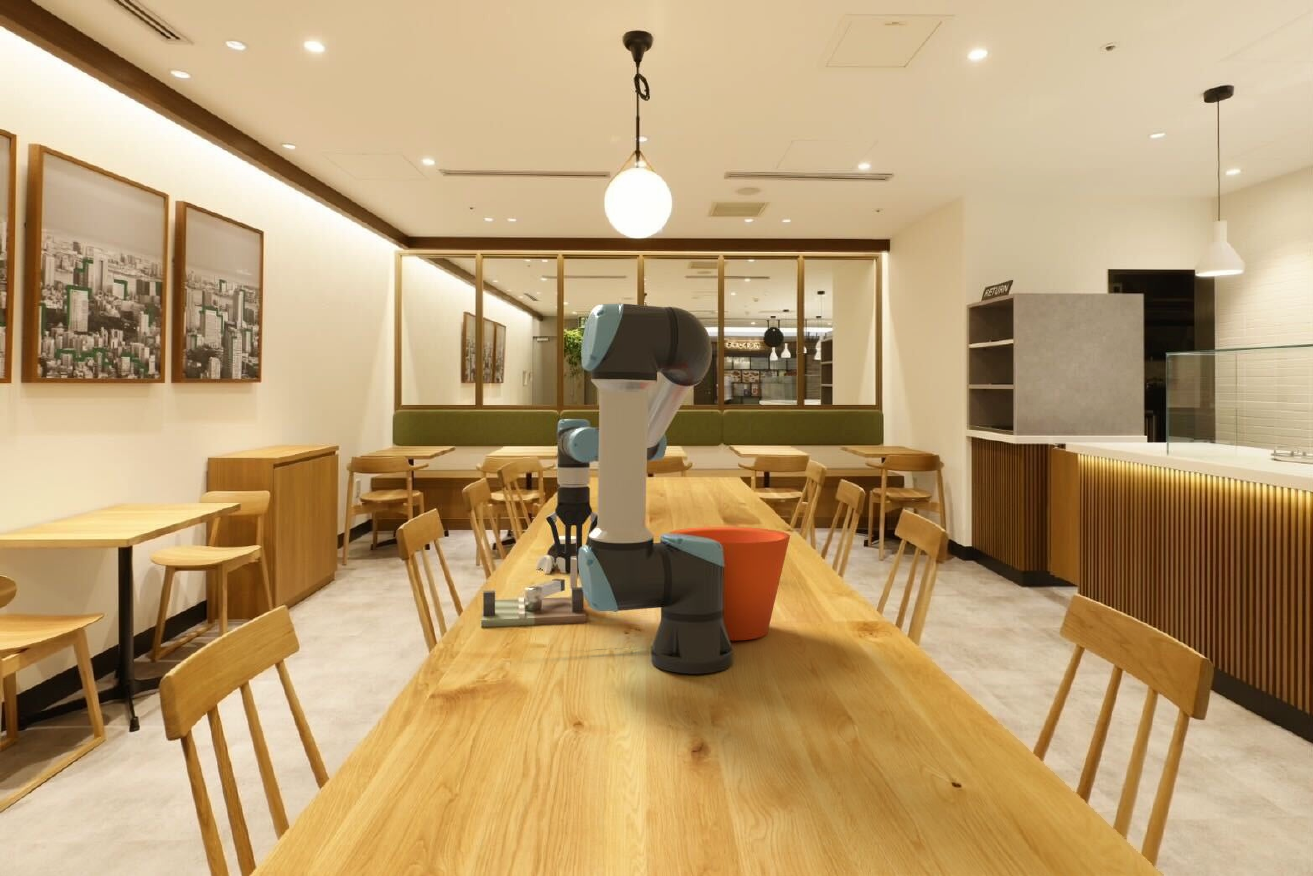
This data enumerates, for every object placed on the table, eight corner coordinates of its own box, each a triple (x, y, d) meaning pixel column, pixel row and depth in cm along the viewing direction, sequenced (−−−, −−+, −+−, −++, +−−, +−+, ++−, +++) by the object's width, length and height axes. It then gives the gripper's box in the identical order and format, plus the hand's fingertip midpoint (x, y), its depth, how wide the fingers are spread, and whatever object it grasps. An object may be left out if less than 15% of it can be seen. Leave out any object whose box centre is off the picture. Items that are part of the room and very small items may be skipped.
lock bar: (535, 611, 162) (535, 590, 162) (522, 609, 164) (522, 588, 164) (566, 599, 174) (566, 579, 174) (553, 598, 175) (553, 578, 175)
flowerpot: (702, 610, 171) (702, 524, 171) (807, 624, 158) (807, 531, 158) (645, 635, 150) (645, 537, 150) (761, 654, 137) (761, 546, 137)
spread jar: (588, 578, 209) (588, 537, 209) (562, 585, 200) (562, 542, 200) (555, 574, 216) (555, 534, 216) (528, 580, 206) (528, 538, 206)
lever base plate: (586, 622, 160) (586, 592, 160) (481, 627, 156) (481, 596, 156) (578, 603, 179) (578, 575, 178) (484, 606, 174) (484, 579, 174)
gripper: (599, 484, 178) (599, 583, 178) (544, 484, 175) (544, 585, 175) (603, 486, 170) (603, 589, 170) (545, 487, 168) (545, 591, 168)
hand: (573, 587), depth 173 cm, fingers closed
